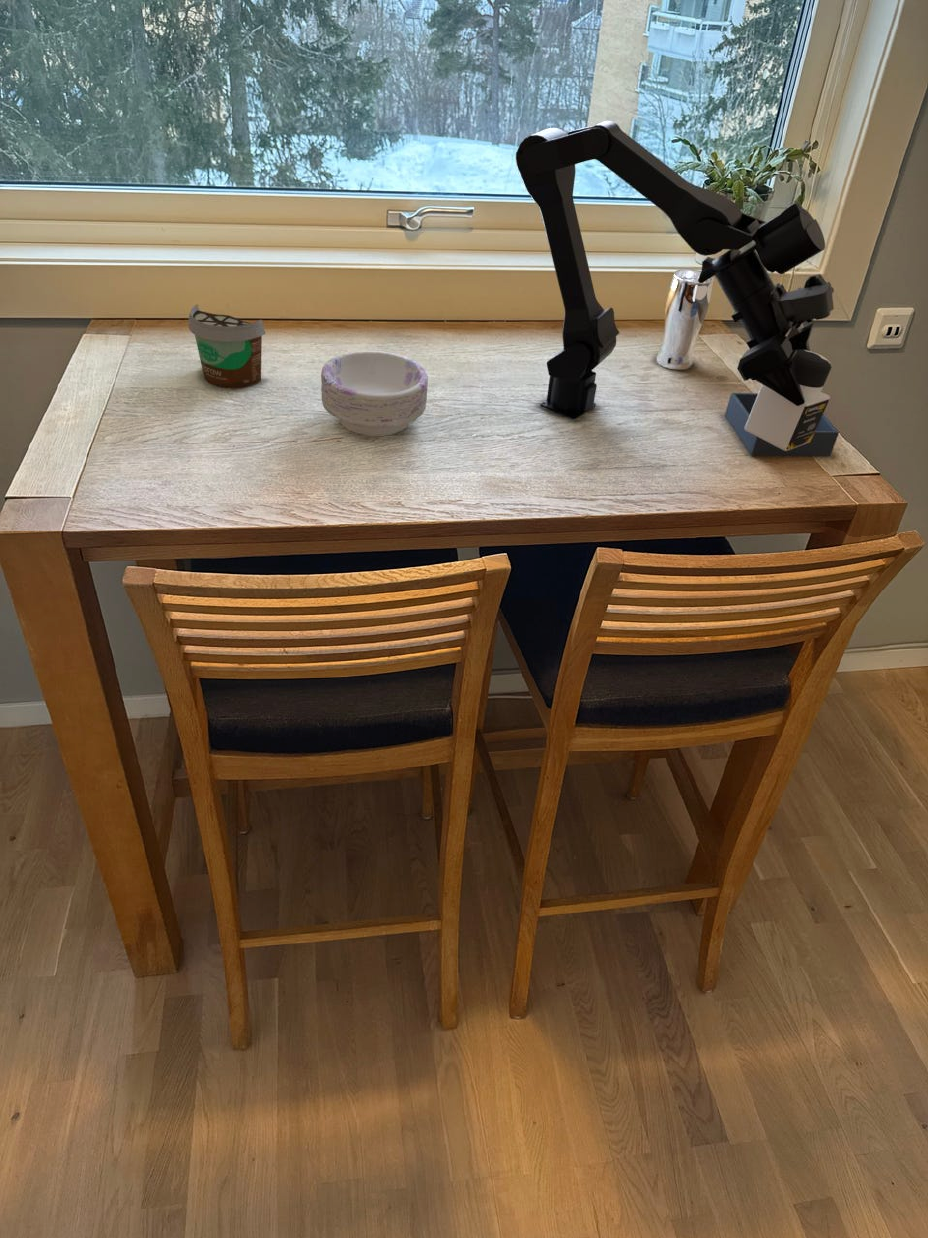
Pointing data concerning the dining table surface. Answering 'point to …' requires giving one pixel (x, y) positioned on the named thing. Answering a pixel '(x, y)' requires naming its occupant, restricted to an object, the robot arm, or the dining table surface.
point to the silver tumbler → (683, 318)
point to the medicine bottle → (792, 405)
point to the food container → (227, 348)
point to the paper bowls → (374, 391)
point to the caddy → (756, 446)
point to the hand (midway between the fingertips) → (807, 393)
